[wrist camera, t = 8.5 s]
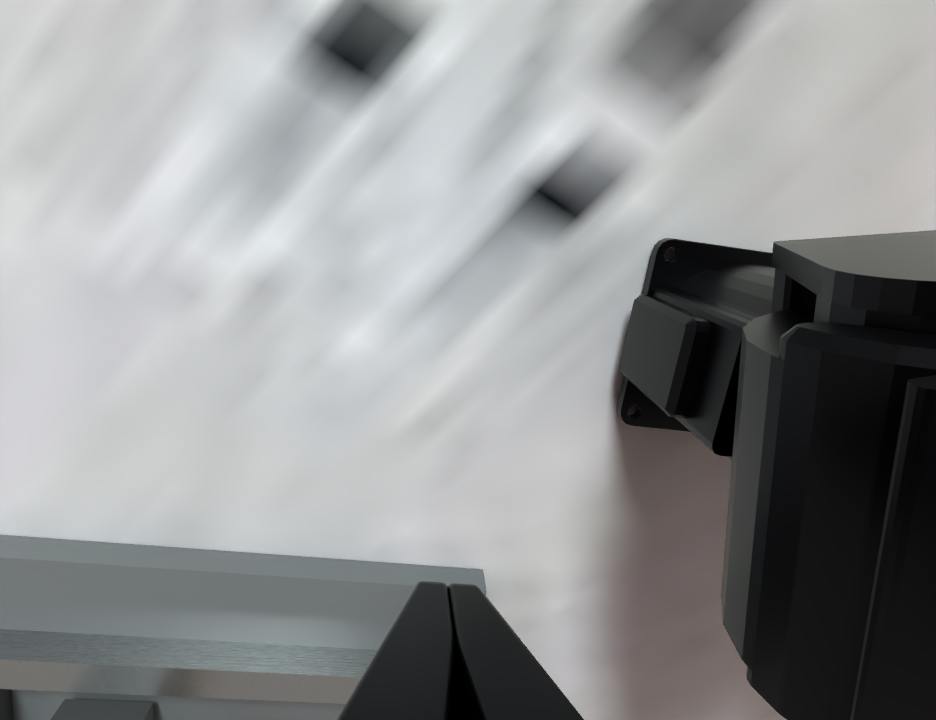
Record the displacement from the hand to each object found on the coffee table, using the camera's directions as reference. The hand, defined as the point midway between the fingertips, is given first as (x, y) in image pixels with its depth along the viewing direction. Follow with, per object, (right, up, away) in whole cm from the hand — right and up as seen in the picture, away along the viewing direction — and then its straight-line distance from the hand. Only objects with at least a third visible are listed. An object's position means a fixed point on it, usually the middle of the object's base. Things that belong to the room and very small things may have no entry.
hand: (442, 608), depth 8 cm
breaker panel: (-9, -11, +15) cm, 21 cm away
